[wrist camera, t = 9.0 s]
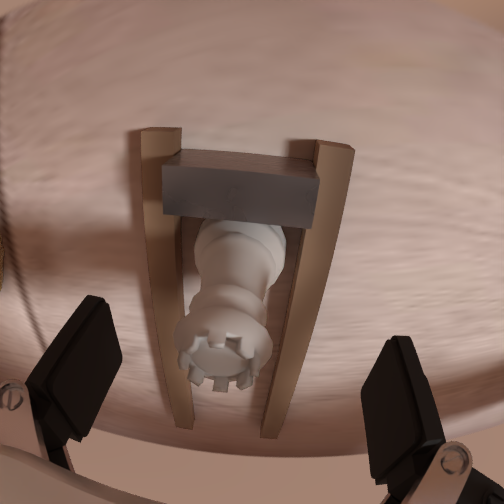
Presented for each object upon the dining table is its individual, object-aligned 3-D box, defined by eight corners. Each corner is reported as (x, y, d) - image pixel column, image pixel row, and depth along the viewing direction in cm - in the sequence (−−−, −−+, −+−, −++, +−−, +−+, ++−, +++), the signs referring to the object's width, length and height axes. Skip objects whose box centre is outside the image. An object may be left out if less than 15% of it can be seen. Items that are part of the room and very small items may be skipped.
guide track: (348, 144, 13) (355, 150, 12) (277, 427, 25) (276, 438, 24) (150, 127, 13) (140, 131, 12) (178, 416, 25) (176, 426, 24)
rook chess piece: (230, 290, 17) (206, 416, 11) (180, 228, 16) (118, 343, 9) (302, 256, 16) (317, 386, 9) (255, 183, 14) (238, 289, 7)
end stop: (310, 160, 14) (320, 179, 11) (304, 201, 15) (311, 229, 12) (183, 148, 14) (161, 165, 11) (182, 189, 15) (162, 214, 12)
